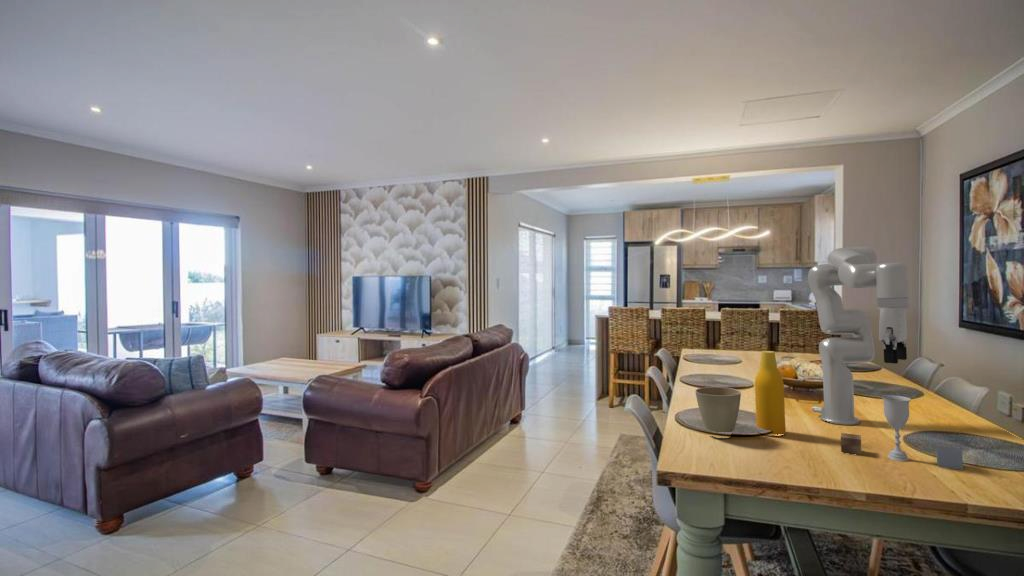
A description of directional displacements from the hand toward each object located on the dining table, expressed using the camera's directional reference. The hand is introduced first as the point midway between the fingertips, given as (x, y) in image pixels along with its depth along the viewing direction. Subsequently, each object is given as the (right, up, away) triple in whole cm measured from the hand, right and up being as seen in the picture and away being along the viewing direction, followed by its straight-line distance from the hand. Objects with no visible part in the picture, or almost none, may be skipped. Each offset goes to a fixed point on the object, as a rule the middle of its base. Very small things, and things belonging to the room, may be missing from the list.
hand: (895, 361), depth 143 cm
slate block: (+10, -29, -7) cm, 31 cm away
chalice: (0, -29, 0) cm, 29 cm away
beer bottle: (-22, -30, +28) cm, 46 cm away
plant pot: (-41, -31, +26) cm, 58 cm away
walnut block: (-9, -29, +6) cm, 31 cm away
